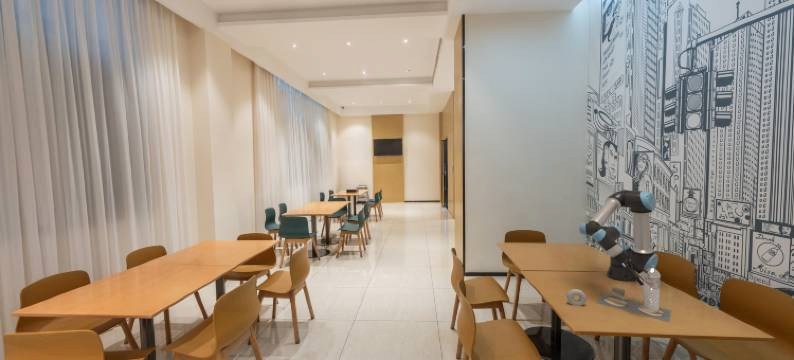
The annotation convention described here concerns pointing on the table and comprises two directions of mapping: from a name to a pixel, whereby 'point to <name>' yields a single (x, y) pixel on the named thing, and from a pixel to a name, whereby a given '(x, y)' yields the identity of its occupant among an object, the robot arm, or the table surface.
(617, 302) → the white tag coaster
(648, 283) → the water bottle
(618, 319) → the table surface
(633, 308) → the board
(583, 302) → the donut
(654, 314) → the ochre tag coaster
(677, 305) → the table surface
